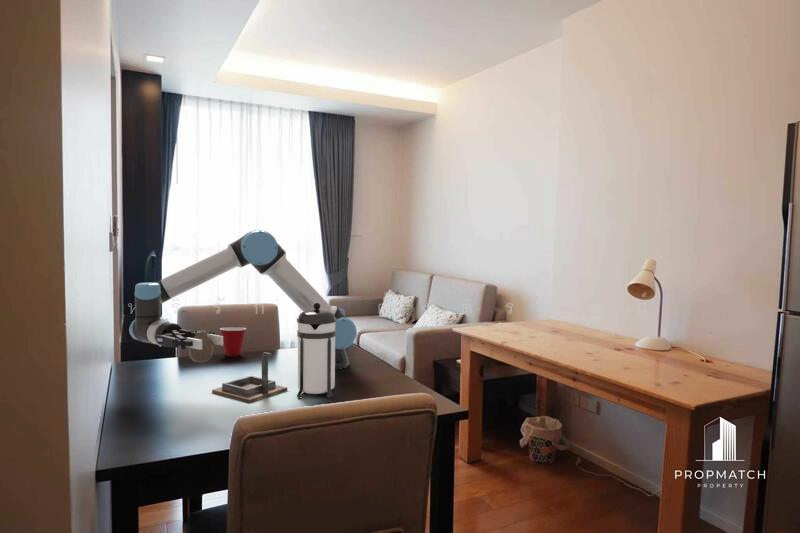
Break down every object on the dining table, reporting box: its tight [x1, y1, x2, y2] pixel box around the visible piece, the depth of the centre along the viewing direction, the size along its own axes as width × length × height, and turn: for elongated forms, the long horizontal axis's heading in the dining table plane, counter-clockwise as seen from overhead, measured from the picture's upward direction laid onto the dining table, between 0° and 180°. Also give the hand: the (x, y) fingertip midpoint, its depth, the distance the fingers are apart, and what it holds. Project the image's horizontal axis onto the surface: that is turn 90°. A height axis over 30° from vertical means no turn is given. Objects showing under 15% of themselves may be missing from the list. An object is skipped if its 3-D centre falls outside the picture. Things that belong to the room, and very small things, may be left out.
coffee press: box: [296, 303, 337, 400], centre depth 168 cm, size 17×16×30 cm
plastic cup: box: [219, 326, 247, 357], centre depth 221 cm, size 11×11×12 cm
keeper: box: [211, 351, 288, 404], centre depth 168 cm, size 16×18×14 cm
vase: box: [188, 330, 214, 363], centre depth 153 cm, size 7×7×9 cm
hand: (211, 342), depth 150 cm, fingers closed on vase, 6 cm apart
